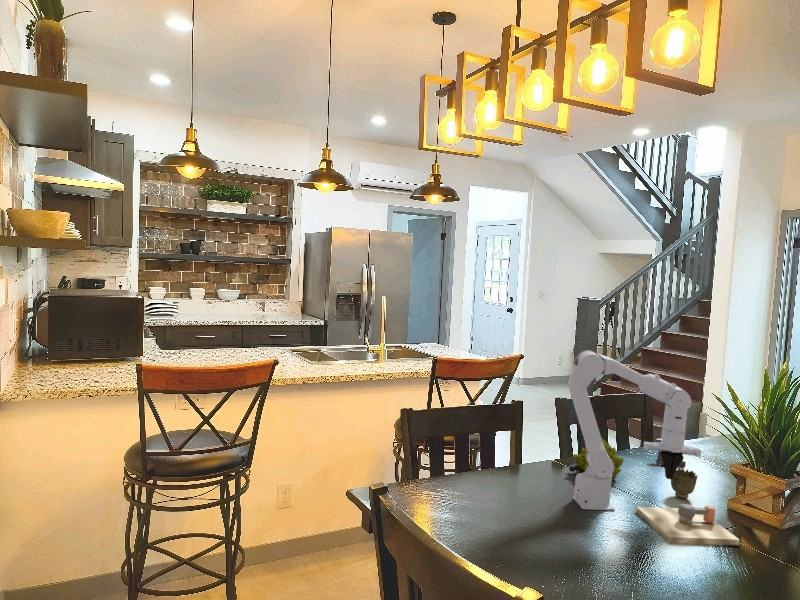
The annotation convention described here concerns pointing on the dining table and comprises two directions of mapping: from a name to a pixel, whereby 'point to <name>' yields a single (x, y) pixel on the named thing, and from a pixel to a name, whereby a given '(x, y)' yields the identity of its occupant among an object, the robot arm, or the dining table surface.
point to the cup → (683, 483)
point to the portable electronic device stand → (661, 457)
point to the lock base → (686, 527)
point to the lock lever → (697, 512)
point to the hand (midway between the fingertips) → (668, 478)
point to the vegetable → (583, 464)
